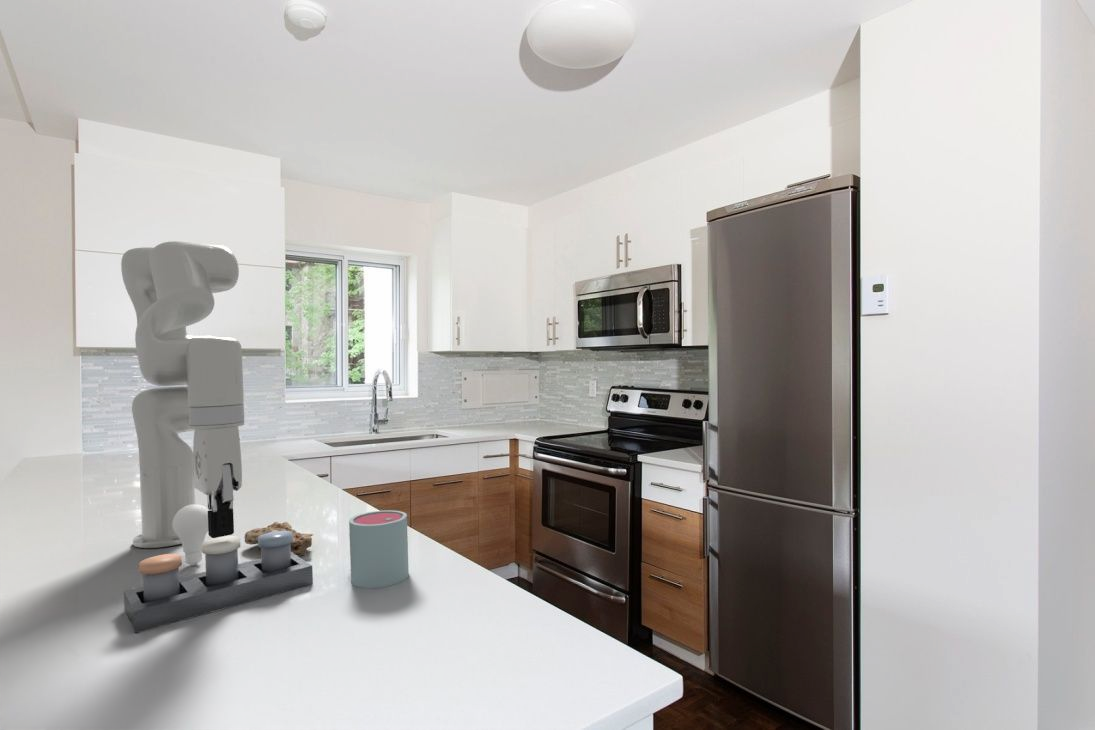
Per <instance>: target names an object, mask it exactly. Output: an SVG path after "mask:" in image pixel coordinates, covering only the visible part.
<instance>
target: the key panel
mask: <svg viewBox="0 0 1095 730" xmlns="http://www.w3.org/2000/svg"><path fill="white" fill-rule="evenodd" d="M313 572H314V571H313V565H312V564H311V563H309V562H308V561H306V560H305V559H303V558H301V556H298V555H295V554H294V553H292V552H291V567H287V568H283V569H279V570H275V571H271V572H267V573H263V572H262V564H261V558H258V559H254V560H250V561H245V562H240V563H238V576H239V578H238V580H235V581H231V582H227V583H223V584H219V585H215V586H208V585H207V584H206V571H202V572H199V573H194V574H190V575H185V576H182V577H181V576H179V587H180V594H179V595H175V596H171V597H167V598H163V599H159V600H155V601H151V602H147V603H144V590H143V586H138V587H134V588H129V589H125V590H123V604H124V607H123V608H124V610H123V611H124V613H125V614H126V617H127V619H128V621H129V623H130V625H131V628H132V630H133V632H134V634H137V633H141V632H144V631H147V630H151V629H156V628H158V627H162V626H166V625H169V624H172V623H176V622H180V621H184V620H188V619H192V618H194V617H198V616H202V615H205V614H208V613H214V612H216V611H220V610H224V609H227V608H230V607H234V606H238V605H241V604H245V603H249V602H253V601H256V600H260V599H263V598H266V597H267V598H268V597H270V596H275V595H278V594H282V593H284V592H285V593H286V592H289V591H293V590H297V589H299V588H300V589H301V588H303V587H307V586H310V585H313V584H314V580H313V579H314V578H313V577H314V576H313V575H314V574H313Z"/></svg>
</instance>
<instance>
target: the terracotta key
mask: <svg viewBox="0 0 1095 730" xmlns="http://www.w3.org/2000/svg"><path fill="white" fill-rule="evenodd" d="M182 560H183V559H182V554H181V553H180V554H179V553H165V554H159V555H155V556H149V557H147V558H145V559H143V560H141V561H140V562H139V564H138V567H139V569H138V570H139V571H138V572H139V574H142V585H143V590H144V603H147V602H151V601H155V600H159V599H163V598H167V597H171V596H175V595H179V594H180V587H179V578H180V567H181V566H182V565H183V561H182Z"/></svg>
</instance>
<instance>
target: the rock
mask: <svg viewBox="0 0 1095 730" xmlns="http://www.w3.org/2000/svg"><path fill="white" fill-rule="evenodd" d="M292 527H293V526H291V523H289V522H287V521H285V522H283V523H280V522H278V521H275V522H273V523H272V524H270V525H269V524H268V526H267V527H262V528H261V527H256V528H253V529H251V530H249V531H246V532H245V534H244V542H245V544H247V545H258V537H259V536H260V535H262V534H265V533H269V532H274V531H291V532H292V533H293V541H292V542H291V543H290V548H291V552H292V553H294V554H295V555H297V556H298V557H302V556H306V554H307V551H308V550H307V549H308V548H311V546H312V539H313V538H312V536H314V534H313V533H301V532H299V531H298V532H297V531H296V530H295V529H293V528H292ZM258 547H259V546H258ZM259 549H261V547H259Z"/></svg>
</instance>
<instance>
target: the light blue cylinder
mask: <svg viewBox="0 0 1095 730" xmlns="http://www.w3.org/2000/svg"><path fill="white" fill-rule="evenodd" d="M292 541H293V533H292V532H291V531H274V532H269V533H265V534H262V535H260V536H259V537H258V544H257V546H258V547H261V548H260V556H261V557H260V559H261V564H262V572H263V573H267V572H271V571H275V570H279V569H283V568H287V567H291V548H290V543H291V542H292Z"/></svg>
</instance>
